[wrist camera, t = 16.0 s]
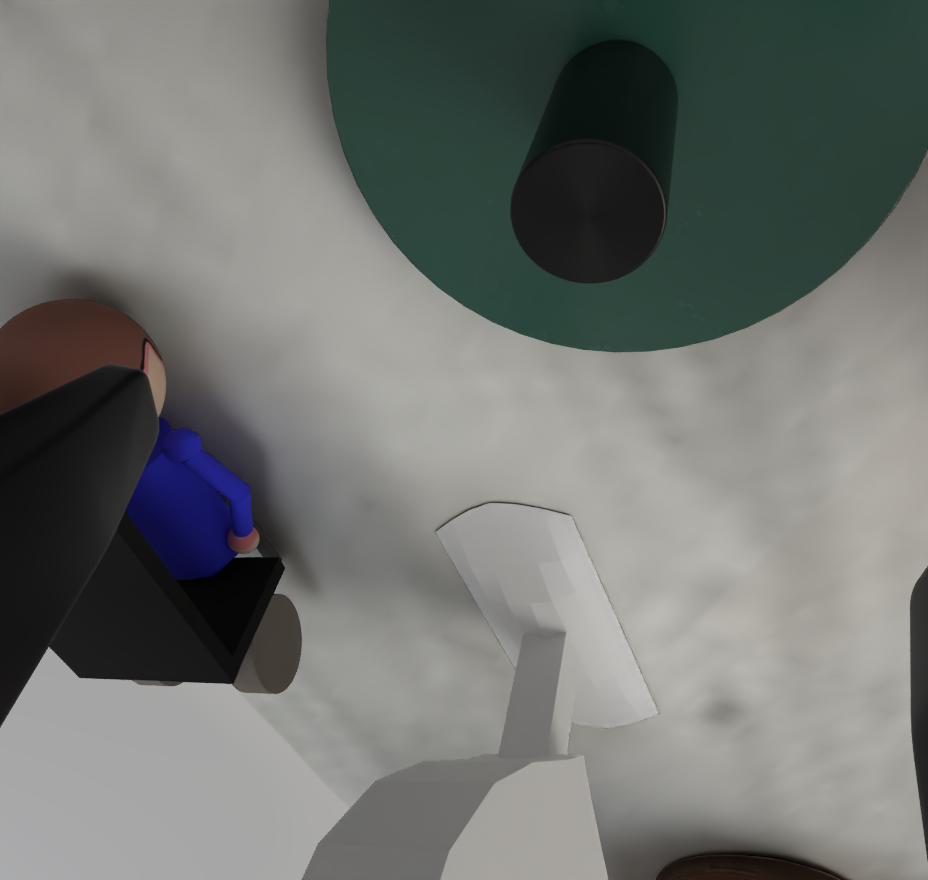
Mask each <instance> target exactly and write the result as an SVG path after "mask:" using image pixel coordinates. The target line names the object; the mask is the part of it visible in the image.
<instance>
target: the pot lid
mask: <svg viewBox="0 0 928 880" xmlns="http://www.w3.org/2000/svg"><path fill="white" fill-rule="evenodd" d="M326 51H327V77H328V85H329V91H330V97H331V103H332V110H333V116H334V120H335V123H336V127H337V131H338V134H339V138H340V141H341V145H342V148H343V152H344V154H345V157H346V159H347V162H348V164H349V166H350V169H351V171H352V174H353V176H354V179H355V181H356V183H357V186H358V187H359V189H360V191H361V193H362V195H363V196H364V198H365V200H366V202H367V204H368V205H369V207H370V209H371V211H372V213H373V215H374V216H375V217H376V219H377V220H378V222H379V223H380V224H381V226H382V227H383V229H384V230H385V231H386V233H387V234H388V236H389V237H390V238H391V240H392V241H393V243H394V244H395V245H396V246H397V247H398V248H399V249H400V250H401V252H402V253H403V254H404V255H405V256H406V257H407V258H408V259H409V260H410V262H411V263H412V264H413V265H414V266H415V267H416V268H417V269H418V270H419V271H420V272H422V273H423V274H424V275H425V276H426V277H427V278H428V279H429V280H431V281H432V282H433V283H434V284H435V285H436V286H437V287H438V288H440V289H441V290H442V291H444V292H445V293H447V294H448V295H449V296H451V297H452V298H454V299H455V300H456V301H458V302H459V303H461V304H462V305H463V306H465V307H467V308H468V309H470V310H472V311H474V312H476V313H477V314H479V315H481V316H483V317H484V318H486V319H488V320H490V321H492V322H494V323H496V324H498V325H501V326H503V327H505V328H508V329H510V330H512V331H515V332H517V333H519V334H522V335H525V336H528V337H532V338H535V339H538V340H542V341H545V342H548V343H551V344H556V345H562V346H567V347H572V348H577V349H583V350H594V351H606V352H646V351H655V350H663V349H670V348H678V347H684V346H688V345H692V344H696V343H700V342H704V341H709V340H713V339H716V338H719V337H722V336H724V335H727V334H730V333H733V332H736V331H738V330H741V329H744V328H747V327H749V326H751V325H753V324H755V323H757V322H759V321H761V320H763V319H765V318H768V317H770V316H772V315H774V314H776V313H778V312H780V311H781V310H783V309H785V308H786V307H788V306H789V305H791V304H793V303H794V302H796V301H797V300H799V299H801V298H802V297H804V296H805V295H807V294H809V293H810V292H812V291H813V290H814V289H815V288H817V287H818V286H819V285H820V284H822V283H823V282H824V281H825V280H827V279H828V278H829V277H831V276H832V275H833V274H834V273H836V272H837V271H838V270H839V269H841V268H842V267H843V266H844V265H845V264H846V263H847V262H848V261H849V260H850V259H851V258H852V257H853V256H854V255H855V254H856V253H857V252H858V251H859V250H860V249H861V248H862V247H863V246H864V245H865V244H866V243H867V242H868V241H869V240H870V238H871V237H872V236H873V235H874V233H875V232H876V231H877V230H878V228H879V227H880V226H881V225H882V223H883V222H884V221H885V220H886V218H887V217H888V216H889V215H890V213H891V212H892V211H893V210H894V208H895V207H896V205H897V204H898V202H899V200H900V199H901V197H902V196H903V194H904V192H905V191H906V189H907V188H908V186H909V184H910V183H911V181H912V179H913V178H914V176H915V175H916V173H917V171H918V169H919V167H920V165H921V162H922V160H923V158H924V156H925V154H926V152H927V149H928V0H329V9H328V21H327V34H326Z"/></svg>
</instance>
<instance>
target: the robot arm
mask: <svg viewBox="0 0 928 880" xmlns="http://www.w3.org/2000/svg"><path fill="white" fill-rule="evenodd" d="M158 434H159V419H158V415H157V410H156V406H155V402H154V398H153V394H152V390H151V385H150V381H149V378H148V376H147V375H146V373H145V372H144V371H142V370H140V369H137V368H132V367H127V366H123V365H118V364H108V365H105V366H102V367H100V368H98V369H96V370H94V371H91V372H89V373H87V374H85V375H83V376H81V377H78V378H76V379H74V380H72V381H70V382H68V383H66V384H63V385H61V386H59V387H57V388H55V389H53V390H50V391H48V392H46V393H44V394H42V395H40V396H37V397H35V398H33V399H31V400H29V401H27V402H24V403H22V404H20V405H18V406H16V407H14V408H12V409H9V410H7V411H5V412H3V413H1V414H0V727H1V725H2V723H3V722H4V720H5V718H6V716H7V715H8V714H9V712H10V710H11V709H12V707H13V705H14V704H15V702H16V700H17V699H18V697H19V695H20V694H21V692H22V690H23V688H24V687H25V685H26V683H27V682H28V680H29V679H30V677H31V675H32V673H33V672H34V670H35V669H36V667H37V665H38V664H39V662H40V660H41V659H42V657H43V655H44V654H45V652H46V650H47V649H48V647H49V645H50V644H51V642H52V640H53V639H54V637H55V635H56V634H57V632H58V630H59V629H60V627H61V625H62V624H63V622H64V620H65V619H66V617H67V615H68V614H69V612H70V610H71V609H72V607H73V605H74V604H75V602H76V600H77V599H78V597H79V595H80V594H81V592H82V590H83V589H84V587H85V585H86V584H87V582H88V580H89V579H90V577H91V575H92V574H93V572H94V570H95V569H96V567H97V565H98V564H99V562H100V560H101V558H102V557H103V555H104V553H105V551H106V550H107V548H108V546H109V544H110V542H111V540H112V538H113V536H114V534H115V532H116V530H117V528H118V525H119V523H120V521H121V519H122V517H123V514H124V512H125V510H126V508H127V506H128V503H129V501H130V499H131V497H132V495H133V492H134V490H135V488H136V486H137V484H138V481H139V479H140V477H141V475H142V472H143V470H144V468H145V466H146V464H147V461H148V459H149V457H150V455H151V453H152V450H153V448H154V446H155V444H156V441H157V438H158ZM910 663H911V732H912V743H913V753H914V761H915V769H916V776H917V784H918V791H919V799H920V807H921V814H922V822H923V829H924V837H925V844H926V852H927V860H928V567H927V568H926V569H925V571H924V572H923V574H922V575H921V576H920V578H919V579H918V581H917V582H916V584H915V586H914V589H913V591H912V595H911V601H910Z"/></svg>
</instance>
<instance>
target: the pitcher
mask: <svg viewBox="0 0 928 880" xmlns="http://www.w3.org/2000/svg"><path fill="white" fill-rule="evenodd" d="M656 880H840V879H838V878H836V877H834V876H832V875H829V874H827V873H825V872H822V871H819V870H816V869H813V868H810V867H806V866H803V865H799V864H795V863H792V862H788V861H783V860H778V859H772V858H765V857H755V856H744V855H706V856H698V857H692V858H687V859H683V860H680V861H677V862H674V863H673V864H671V865H669V866H667V867H666V868H665V869H663V870H662V871H661V872H660V874H659V875H658V876H657V878H656Z"/></svg>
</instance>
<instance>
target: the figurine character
mask: <svg viewBox="0 0 928 880" xmlns="http://www.w3.org/2000/svg"><path fill="white" fill-rule="evenodd" d="M108 364H118V365H123V366H127V367H132V368H137V369H140V370H142V371H144V372H145V373H146V375H147V376H148V378H149V381H150V385H151V390H152V394H153V398H154V402H155V406H156V410H157V415H158V419H159V434H158V438H157V441H156V444H155V446H154V448H153V450H152V453H151V455H150V457H149V459H148V461H147V464H146V466H145V468H144V470H143V472H142V475H141V477H140V479H139V481H138V484H137V486H136V488H135V490H134V492H133V495H132V497H131V499H130V501H129V503H128V506H127V508H126V510H125V512H124V514H123V517H122V519H121V521H120V523H119V525H118V528H117V530H116V532H115V534H114V536H113V538H112V540H111V542H110V544H109V546H108V548H107V550H106V551H105V553H104V555H103V557H102V558H101V560H100V562H99V564H98V565H97V567H96V569H95V570H94V572H93V574H92V575H91V577H90V579H89V580H88V582H87V584H86V585H85V587H84V589H83V590H82V592H81V594H80V595H79V597H78V599H77V600H76V602H75V604H74V605H73V607H72V609H71V610H70V612H69V614H68V615H67V617H66V619H65V620H64V622H63V624H62V625H61V627H60V629H59V630H58V632H57V634H56V635H55V637H54V639H53V640H52V642H51V644H50V645H49V647H50V648H51V649H52V650H53V651H54V652H55V653H56V654H57V655H58V656H59V657H60V658H61V659H62V660H63V661H64V662H65V663H66V664H67V665H68V666H69V667H70V669H71V670H72V671H73V672H74V673H75V674H76V675H77V676H78V677H79V678H96V679H121V680H132V681H134V682H135V683H137V684H140V685H157V686H175V685H179V684H181V683H183V682H198V683H199V682H200V683H225V684H232V685H233V686H234V687H235V688H236V689H237V690H239V691H241V692H246V693H269V694H278V693H281V692H283V691H284V690H286V689H287V688H288V686H289V685H290V684H291V682H292V681H293V679H294V677H295V674H296V672H297V669H298V665H299V661H300V656H301V646H302V635H301V626H300V621H299V617H298V613H297V611H296V608H295V606H294V605H293V603H292V602H291V600H290V599H289V598H288V597H286V596H285V595H282V594H274V592H275V589H276V587H277V585H278V583H279V581H280V578H281V576H282V574H283V572H284V570H285V567H284V565H283V563H282V558H281V557H280V555H279V554H278V552H277V551H276V550H275V548H274V547H273V545H272V544H271V543H270V541H269V540H268V538H267V537H266V536H265V534H264V533H263V531H262V530H261V528H260V527H259V526H258V524H257V523H256V521H255V520H254V519H253V518H252V505H251V493H250V486H249V485H248V484H247V483H245V482H243V481H242V480H241V479H240V478H238V477H237V476H236V475H235V474H233V473H232V472H231V471H229V470H228V469H227V468H226V467H224V466H223V465H222V464H221V463H219V462H218V461H217V460H216V459H214V458H213V457H212V456H211V455H209V454H208V453H207V452H206V451H204V450H203V449H202V448H201V446H202V442H201V439H200V437H199V435H198V434H197V433H196V432H195V431H193V430H190V429H186V428H182V429H177V430H174V431H173V429H172V428H171V427H170V425H169V424H168V422H167V421H166V420H164V419H163V418H161V417H159V415H160V413H161V410H162V407H163V404H164V400H165V394H166V375H165V369H164V365H163V361H162V358H161V356H160V354H159V351H158V349H157V347H156V346H155V344H154V342H153V341H152V339H151V338H150V337H149V335H148V334H147V333H146V332H145V331H144V329H143V328H142V327H141V326H139V325H138V324H137V323H136V322H135V321H134V320H132V319H131V318H130V317H128V316H127V315H125V314H123V313H122V312H120V311H118V310H116V309H114V308H112V307H109V306H107V305H104V304H100V303H97V302H93V301H87V300H78V299H63V300H55V301H49V302H45V303H42V304H39V305H36V306H33V307H31V308H28V309H26V310H25V311H23V312H21V313H19V314H18V315H16V316H14V317H13V318H12V319H11V320H9V321H8V322H7V323H6V324H5V325H4V326H2V328H1V329H0V414H1V413H3V412H5V411H7V410H9V409H12V408H14V407H16V406H18V405H20V404H22V403H24V402H27V401H29V400H31V399H33V398H35V397H37V396H40V395H42V394H44V393H46V392H48V391H50V390H53V389H55V388H57V387H59V386H61V385H63V384H66V383H68V382H70V381H72V380H74V379H76V378H78V377H81V376H83V375H85V374H87V373H89V372H91V371H94V370H96V369H98V368H100V367H102V366H105V365H108ZM219 492H220V493H221V494H222V495H224V496H225V497H226V498H228V499H229V500H230V508H231V509H230V508H229V506H228V505H227V503H226V502H225V501H224V499H223V498H222V497H221V495H220V494H219ZM256 548H257V549H258V550H259V552H260V553H261V555H262V556H263V557H245V558H234V557H235V556H236V555H237V554H238V553H240V554H246V553H250V552H252V551H253V550H255V549H256Z"/></svg>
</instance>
